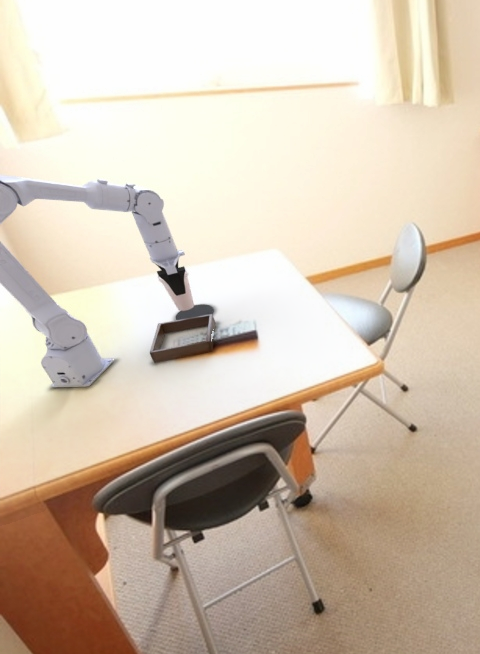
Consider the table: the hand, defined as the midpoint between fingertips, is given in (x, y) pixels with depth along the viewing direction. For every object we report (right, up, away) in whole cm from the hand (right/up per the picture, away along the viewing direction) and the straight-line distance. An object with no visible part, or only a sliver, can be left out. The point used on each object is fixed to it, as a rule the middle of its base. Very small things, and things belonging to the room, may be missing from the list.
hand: (178, 288), depth 122 cm
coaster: (-2, -6, +9) cm, 11 cm away
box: (+3, -13, -1) cm, 14 cm away
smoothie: (0, -5, +3) cm, 6 cm away
